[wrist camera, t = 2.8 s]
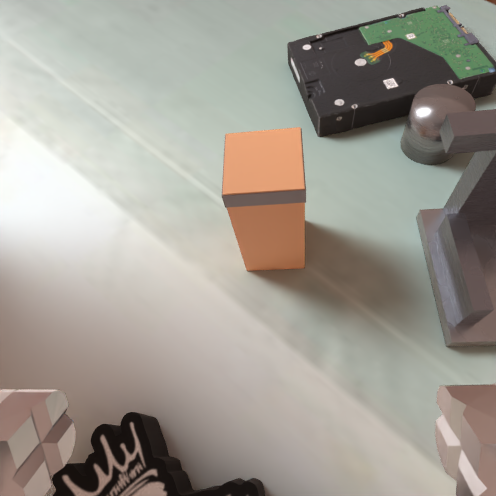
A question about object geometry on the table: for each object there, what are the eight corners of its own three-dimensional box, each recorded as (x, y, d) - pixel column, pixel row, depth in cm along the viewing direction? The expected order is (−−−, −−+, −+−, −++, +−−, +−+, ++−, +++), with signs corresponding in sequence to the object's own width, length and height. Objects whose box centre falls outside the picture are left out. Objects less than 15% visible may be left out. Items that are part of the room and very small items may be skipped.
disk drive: (319, 145, 32) (492, 98, 32) (319, 119, 29) (507, 68, 29) (286, 68, 37) (435, 27, 37) (284, 41, 34) (444, -3, 34)
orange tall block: (305, 268, 26) (305, 189, 18) (246, 271, 26) (221, 194, 19) (302, 218, 28) (301, 126, 20) (247, 221, 28) (224, 133, 21)
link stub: (439, 173, 28) (457, 133, 25) (390, 150, 30) (402, 110, 26) (465, 139, 29) (486, 97, 26) (417, 119, 31) (431, 76, 28)
